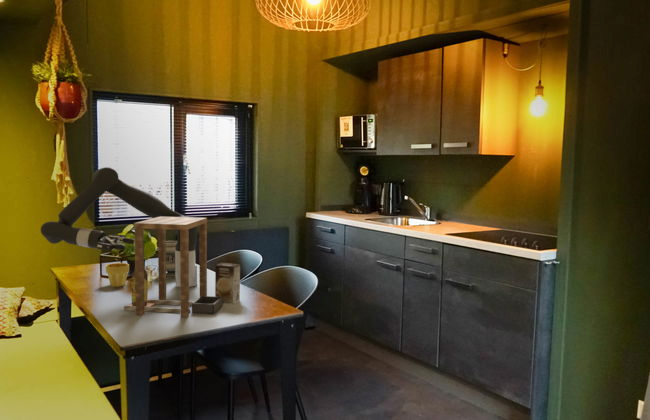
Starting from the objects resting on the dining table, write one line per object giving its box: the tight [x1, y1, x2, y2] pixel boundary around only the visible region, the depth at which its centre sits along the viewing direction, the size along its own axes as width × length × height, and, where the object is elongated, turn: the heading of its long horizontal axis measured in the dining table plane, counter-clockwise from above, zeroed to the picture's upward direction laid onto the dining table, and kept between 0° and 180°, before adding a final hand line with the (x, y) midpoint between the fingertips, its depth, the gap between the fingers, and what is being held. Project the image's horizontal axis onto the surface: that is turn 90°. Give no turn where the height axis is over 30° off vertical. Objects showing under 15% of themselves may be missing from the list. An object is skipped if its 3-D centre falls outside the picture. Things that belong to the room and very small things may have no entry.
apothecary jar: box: [166, 240, 177, 279], centre depth 284 cm, size 12×12×18 cm
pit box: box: [191, 295, 224, 315], centre depth 223 cm, size 9×12×4 cm
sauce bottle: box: [131, 257, 149, 306], centre depth 225 cm, size 6×6×20 cm
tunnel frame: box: [123, 216, 208, 319], centre depth 224 cm, size 28×25×36 cm
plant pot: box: [105, 262, 130, 288], centre depth 262 cm, size 10×10×10 cm
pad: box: [128, 303, 157, 307], centre depth 226 cm, size 9×10×1 cm
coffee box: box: [214, 262, 241, 305], centre depth 237 cm, size 9×6×16 cm
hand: (129, 244), depth 226 cm, fingers open, 8 cm apart
